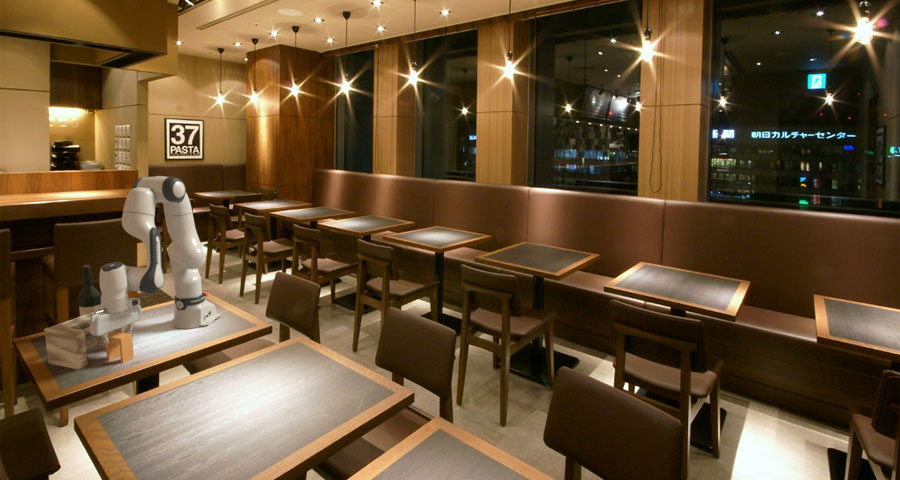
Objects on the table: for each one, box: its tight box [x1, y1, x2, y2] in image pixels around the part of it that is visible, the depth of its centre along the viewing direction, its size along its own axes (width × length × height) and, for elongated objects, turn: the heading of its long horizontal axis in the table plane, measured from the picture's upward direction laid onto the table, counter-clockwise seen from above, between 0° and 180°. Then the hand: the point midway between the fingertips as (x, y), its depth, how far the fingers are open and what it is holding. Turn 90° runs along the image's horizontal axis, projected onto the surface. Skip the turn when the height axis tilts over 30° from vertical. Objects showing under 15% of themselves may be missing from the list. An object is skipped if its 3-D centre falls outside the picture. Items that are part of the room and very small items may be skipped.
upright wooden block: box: [105, 332, 135, 364], centre depth 199 cm, size 5×8×10 cm, turn 76°
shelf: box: [44, 309, 128, 370], centre depth 202 cm, size 24×14×14 cm, turn 166°
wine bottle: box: [77, 264, 102, 336], centre depth 222 cm, size 8×8×30 cm
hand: (118, 338), depth 198 cm, fingers open, 8 cm apart
